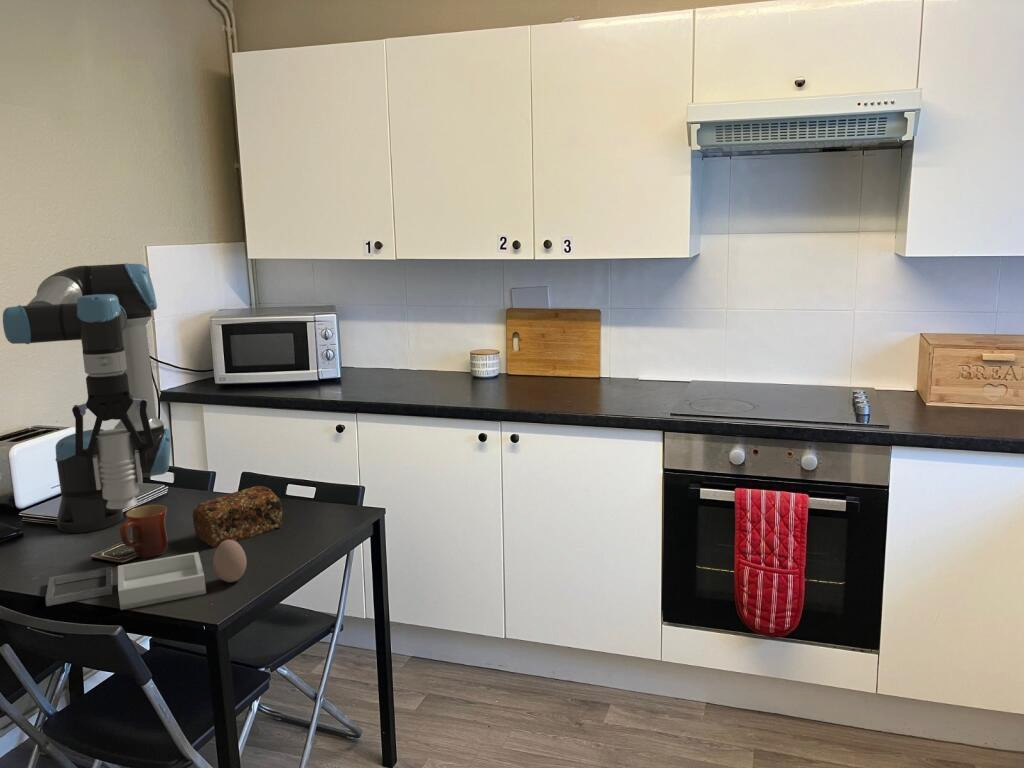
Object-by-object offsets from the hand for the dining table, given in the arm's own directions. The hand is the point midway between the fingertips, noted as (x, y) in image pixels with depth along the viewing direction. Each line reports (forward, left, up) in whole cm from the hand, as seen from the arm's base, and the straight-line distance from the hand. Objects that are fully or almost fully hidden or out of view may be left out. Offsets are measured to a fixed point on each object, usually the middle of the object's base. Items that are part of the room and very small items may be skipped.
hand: (119, 485), depth 175 cm
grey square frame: (-6, -10, -23) cm, 25 cm away
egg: (+5, +19, -23) cm, 30 cm away
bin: (+2, +6, -23) cm, 24 cm away
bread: (-23, +24, -23) cm, 41 cm away
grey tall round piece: (0, 0, -4) cm, 4 cm away
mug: (-19, +3, -23) cm, 30 cm away
